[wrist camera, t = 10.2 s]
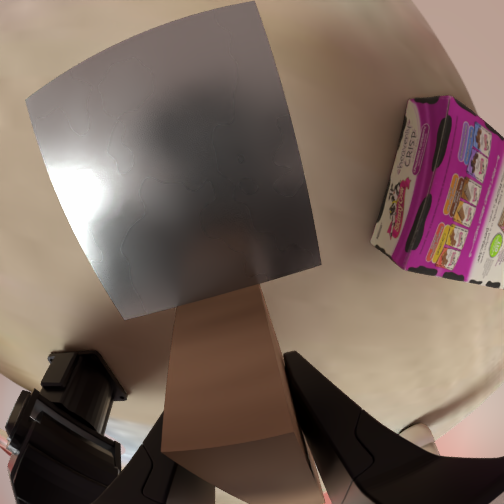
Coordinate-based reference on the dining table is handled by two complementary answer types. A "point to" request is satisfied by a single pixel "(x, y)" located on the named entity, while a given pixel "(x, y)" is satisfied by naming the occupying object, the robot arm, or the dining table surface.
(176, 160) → the turner
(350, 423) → the robot arm
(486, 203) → the candy bar box
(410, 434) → the plastic bottle
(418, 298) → the dining table surface
